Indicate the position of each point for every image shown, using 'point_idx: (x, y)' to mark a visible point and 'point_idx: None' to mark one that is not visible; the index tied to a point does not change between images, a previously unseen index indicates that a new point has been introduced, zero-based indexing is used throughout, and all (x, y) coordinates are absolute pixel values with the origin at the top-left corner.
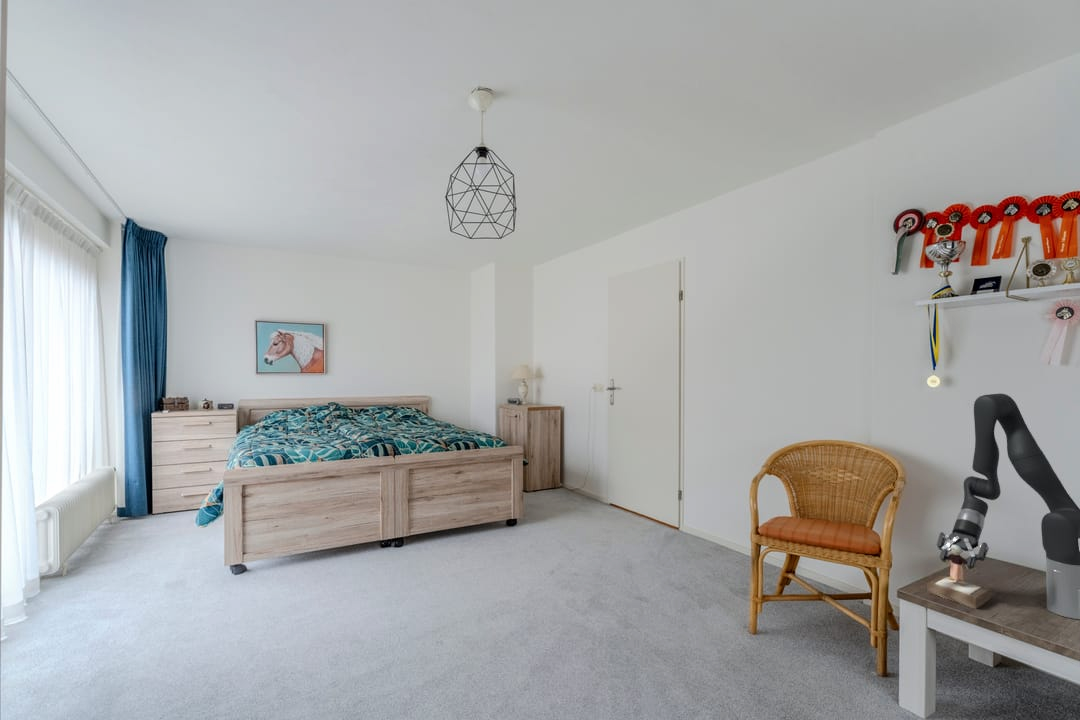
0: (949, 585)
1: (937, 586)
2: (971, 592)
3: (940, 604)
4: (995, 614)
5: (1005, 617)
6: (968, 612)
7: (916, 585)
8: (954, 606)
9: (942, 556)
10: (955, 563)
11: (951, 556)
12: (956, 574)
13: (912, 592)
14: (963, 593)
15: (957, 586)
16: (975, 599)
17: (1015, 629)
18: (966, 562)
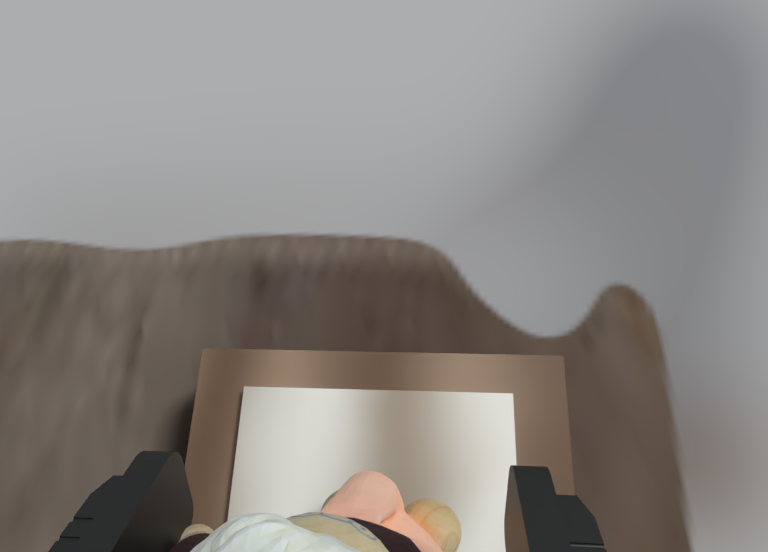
0: (414, 438)
1: (477, 354)
2: (240, 424)
3: (403, 248)
4: (127, 379)
5: (75, 381)
6: (252, 268)
7: (673, 471)
8: (336, 290)
9: (540, 496)
10: (350, 515)
11: (407, 546)
12: (352, 479)
13: (606, 295)
14: (289, 370)
15: None
16: (206, 349)
17: (25, 247)
18: (181, 543)
